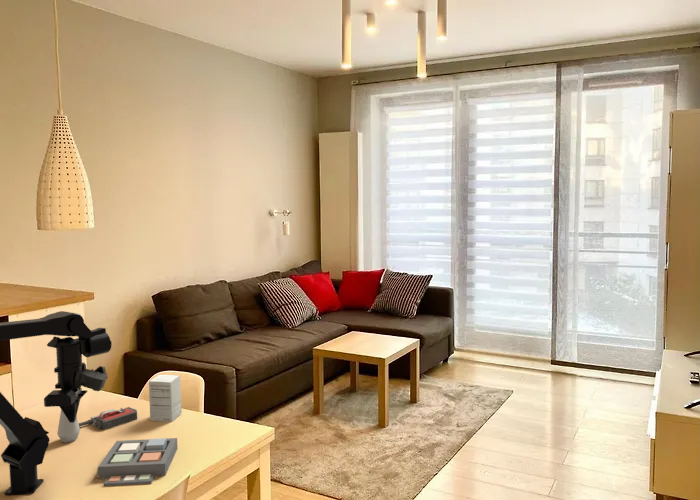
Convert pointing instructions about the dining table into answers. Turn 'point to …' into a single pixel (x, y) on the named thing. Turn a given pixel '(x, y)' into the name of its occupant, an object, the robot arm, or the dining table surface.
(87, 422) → the walkie-talkie
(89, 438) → the dining table surface
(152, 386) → the supplement box
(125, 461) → the key sage
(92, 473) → the dining table surface
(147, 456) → the key terracotta
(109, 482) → the keypad
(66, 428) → the salt shaker
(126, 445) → the key offwhite
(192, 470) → the dining table surface
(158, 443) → the key slate
